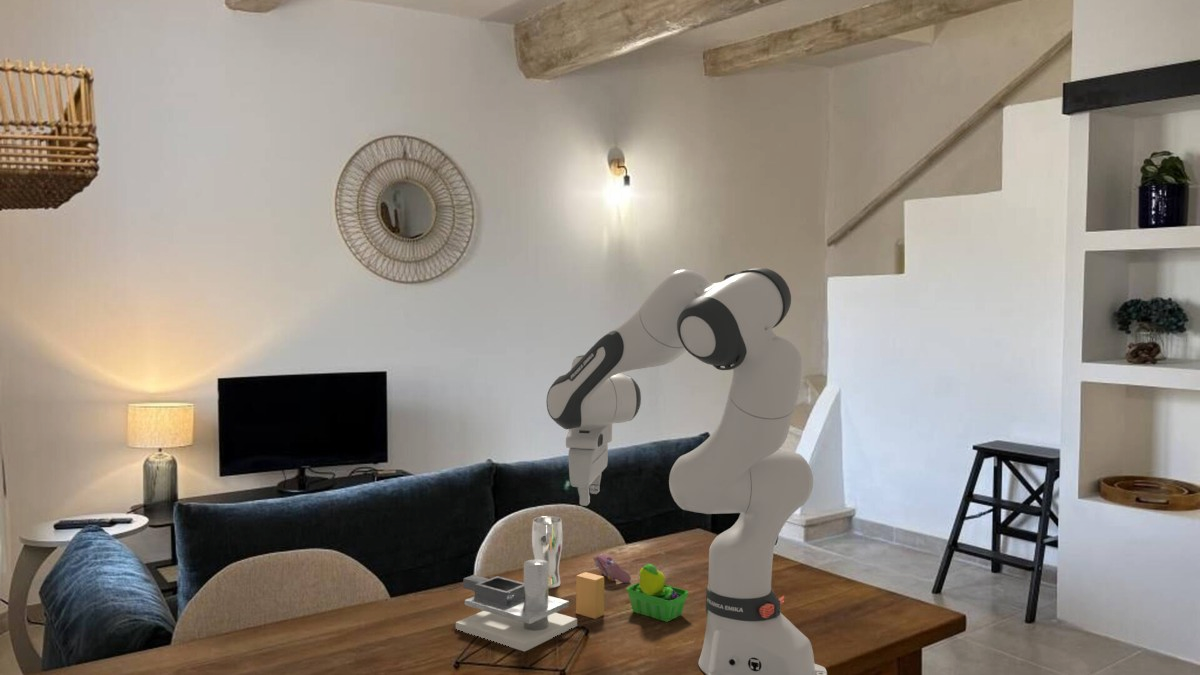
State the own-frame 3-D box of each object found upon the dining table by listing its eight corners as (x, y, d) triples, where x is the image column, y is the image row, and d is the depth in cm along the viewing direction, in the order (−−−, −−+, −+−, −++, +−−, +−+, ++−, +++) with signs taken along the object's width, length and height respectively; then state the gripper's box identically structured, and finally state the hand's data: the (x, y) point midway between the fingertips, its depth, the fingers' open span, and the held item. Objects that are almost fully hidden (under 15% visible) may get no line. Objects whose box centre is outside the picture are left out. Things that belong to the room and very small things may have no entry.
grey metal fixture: (569, 621, 179) (569, 559, 178) (529, 639, 169) (529, 574, 168) (488, 598, 191) (488, 540, 191) (447, 614, 182) (447, 553, 181)
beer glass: (558, 590, 201) (558, 524, 200) (528, 588, 203) (528, 522, 202) (565, 580, 208) (565, 516, 207) (536, 578, 209) (536, 515, 209)
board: (577, 625, 180) (577, 618, 180) (524, 651, 167) (524, 643, 167) (509, 606, 191) (509, 599, 191) (455, 629, 178) (455, 622, 178)
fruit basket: (690, 615, 187) (690, 561, 186) (665, 627, 180) (666, 571, 179) (646, 602, 194) (646, 551, 193) (620, 614, 187) (621, 560, 186)
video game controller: (599, 579, 214) (587, 555, 212) (614, 568, 216) (603, 544, 214) (617, 592, 205) (605, 566, 203) (633, 580, 207) (621, 555, 205)
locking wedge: (604, 614, 187) (604, 576, 186) (595, 618, 184) (595, 580, 184) (584, 609, 190) (585, 571, 189) (576, 613, 187) (576, 575, 187)
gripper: (586, 422, 194) (585, 485, 196) (563, 440, 175) (562, 510, 176) (615, 424, 193) (614, 487, 194) (595, 442, 173) (594, 512, 174)
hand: (589, 498), depth 185 cm, fingers open, 8 cm apart
